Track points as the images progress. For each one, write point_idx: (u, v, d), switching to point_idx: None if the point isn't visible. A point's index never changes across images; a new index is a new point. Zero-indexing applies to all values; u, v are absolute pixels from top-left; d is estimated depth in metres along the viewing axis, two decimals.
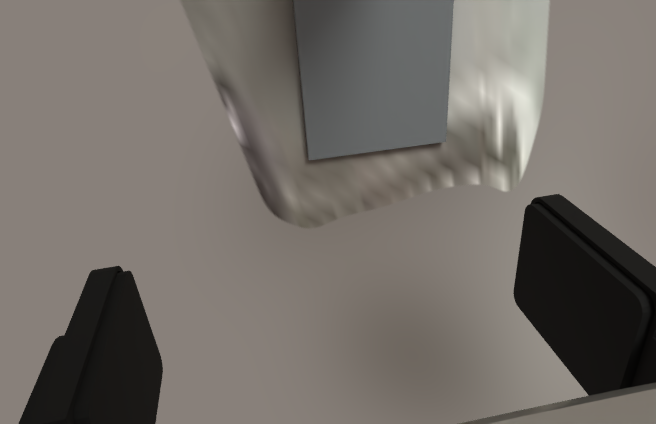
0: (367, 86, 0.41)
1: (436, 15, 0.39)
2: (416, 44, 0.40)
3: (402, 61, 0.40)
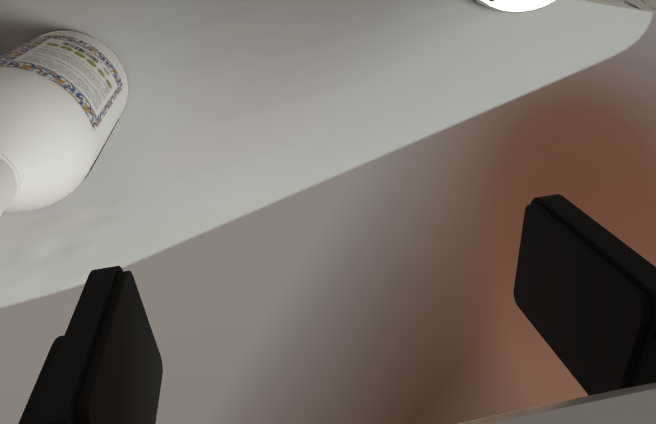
0: None
1: None
2: None
3: None
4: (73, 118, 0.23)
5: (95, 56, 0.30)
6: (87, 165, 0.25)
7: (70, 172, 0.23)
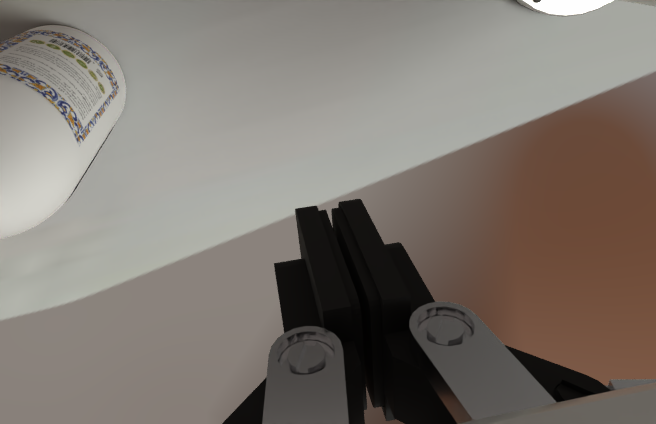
0: None
1: None
2: None
3: None
4: (53, 132, 0.20)
5: (87, 56, 0.27)
6: (69, 186, 0.21)
7: (47, 196, 0.20)
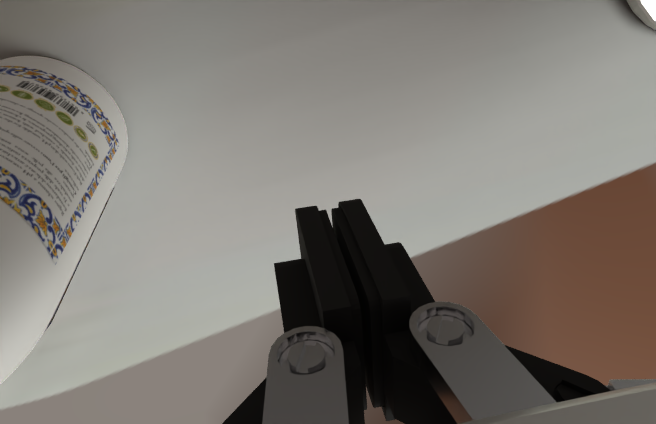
0: None
1: None
2: None
3: None
4: (8, 256, 0.12)
5: (73, 103, 0.19)
6: (39, 331, 0.13)
7: None
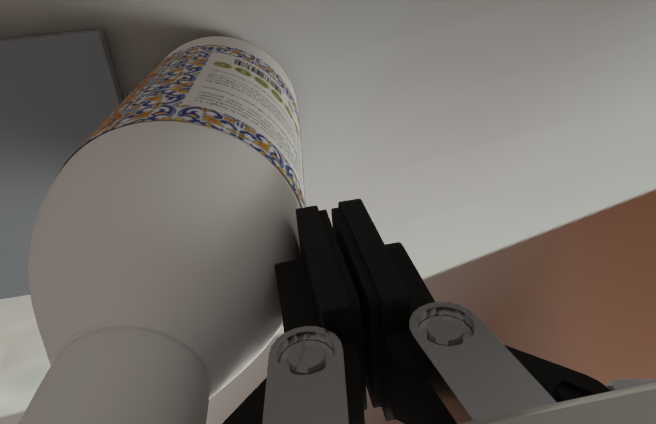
0: None
1: None
2: None
3: None
4: (290, 223, 0.12)
5: (275, 83, 0.19)
6: None
7: (278, 327, 0.12)
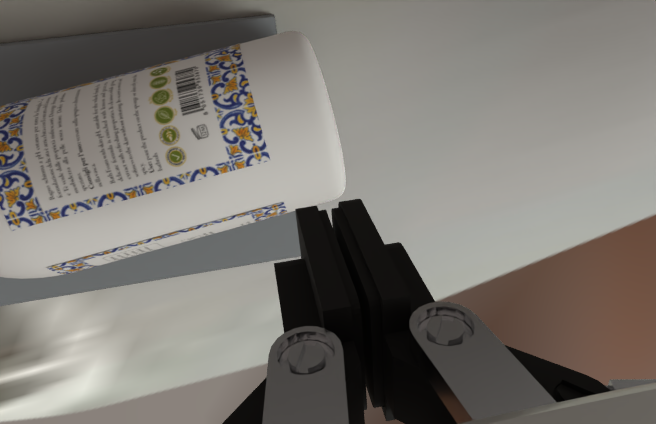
0: None
1: (181, 253, 0.26)
2: None
3: None
4: None
5: (207, 101, 0.17)
6: (9, 265, 0.18)
7: None
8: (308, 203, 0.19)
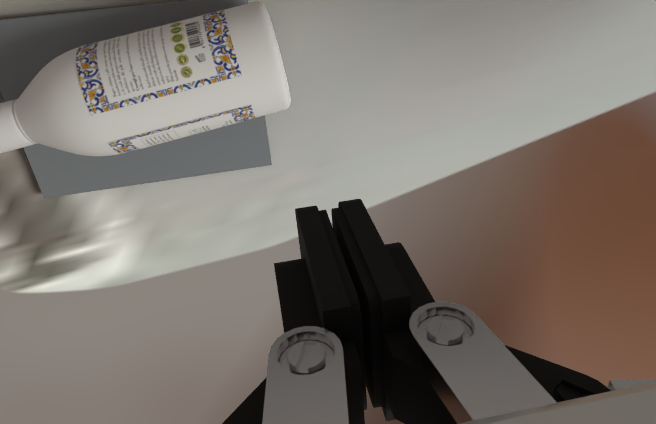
0: None
1: (186, 160, 0.38)
2: None
3: None
4: (65, 100, 0.28)
5: (204, 40, 0.29)
6: (86, 139, 0.29)
7: (62, 139, 0.30)
8: (266, 108, 0.31)
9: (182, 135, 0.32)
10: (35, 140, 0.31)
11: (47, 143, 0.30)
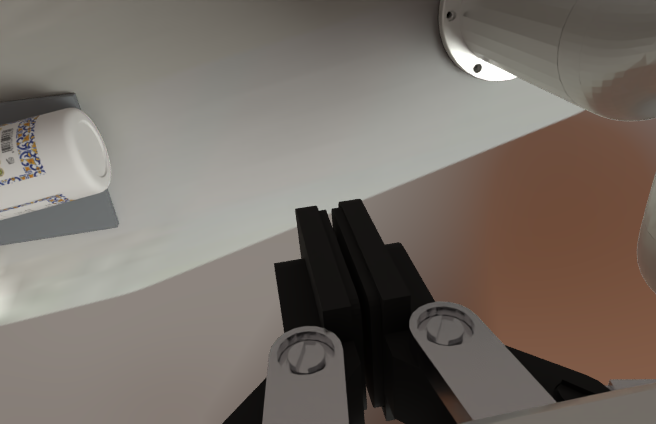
0: None
1: (39, 225, 0.45)
2: None
3: None
4: None
5: (14, 146, 0.35)
6: None
7: None
8: (78, 194, 0.38)
9: (11, 216, 0.38)
10: None
11: None
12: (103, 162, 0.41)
